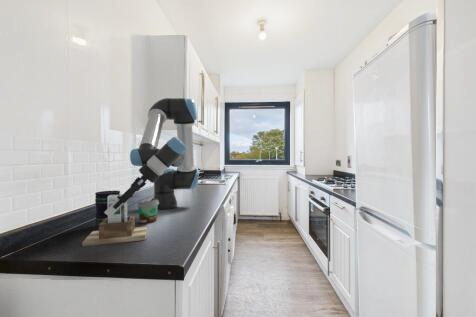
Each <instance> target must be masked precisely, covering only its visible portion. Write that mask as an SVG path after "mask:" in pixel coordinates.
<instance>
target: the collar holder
mask: <svg viewBox="0 0 476 317" xmlns="http://www.w3.org/2000/svg"><path fill="white" fill-rule="evenodd" d="M135 218H136V216H135V215H127V221H128V222H118V223H108V218H105V219H104V220H103V221H102V222H101V223H100V224H99V229H98V230H93V231H91V233H89V235H87V237H86V238H85V239H84V240H83V241H82V243H81V244H82V247H89V246H98V245H109V244H116V243H117V244H121V243H127V242H137V241H138V242H139V241H145V240H146V238H147V233H148V226H147V225H145V226H135V224H136V223H135V222H136V221H135Z"/></svg>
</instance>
